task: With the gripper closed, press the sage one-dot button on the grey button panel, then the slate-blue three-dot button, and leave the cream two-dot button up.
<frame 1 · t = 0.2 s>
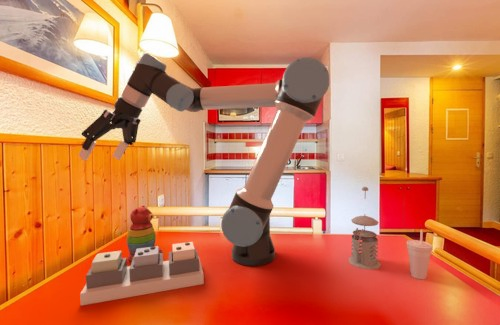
hand: (100, 158, 83), 35 cm above the table, tool tilted 35°, fingers open, 13 cm apart
smoothie: (418, 276, 74), on the table
button two dot: (183, 252, 75), point 7 cm above the table, slide at 0.0 cm
button one dot: (107, 262, 69), point 7 cm above the table, slide at 0.0 cm
stacking bear: (143, 257, 91), on the table
button three dot: (147, 257, 72), point 7 cm above the table, slide at 0.0 cm
french press: (363, 263, 83), on the table
button panel: (148, 282, 73), on the table
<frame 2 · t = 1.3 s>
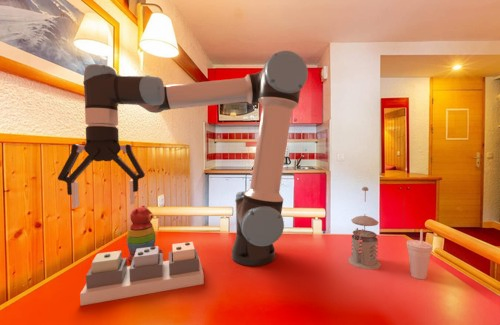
hand: (105, 205, 69), 23 cm above the table, tool pointing down, fingers open, 13 cm apart
nothing on the table moved.
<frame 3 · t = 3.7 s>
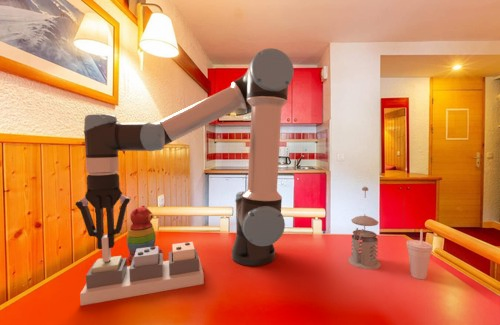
hand: (106, 259, 69), 8 cm above the table, tool pointing down, fingers closed
button one dot: (107, 268, 69), point 6 cm above the table, slide at 1.5 cm
everything else where it was.
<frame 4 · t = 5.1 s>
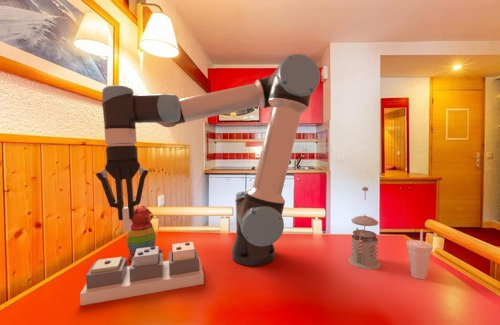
hand: (127, 230, 70), 16 cm above the table, tool pointing down, fingers closed
nothing on the table moved.
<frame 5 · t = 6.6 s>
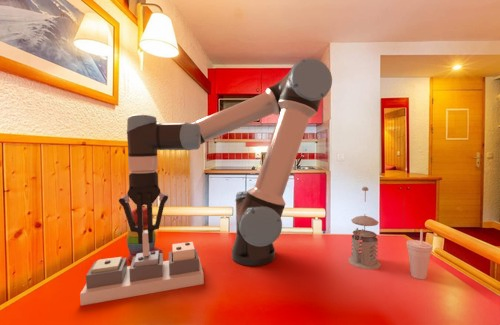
hand: (146, 254, 72), 8 cm above the table, tool pointing down, fingers closed
button three dot: (147, 262, 73), point 6 cm above the table, slide at 1.5 cm, touching gripper
everything else where it was.
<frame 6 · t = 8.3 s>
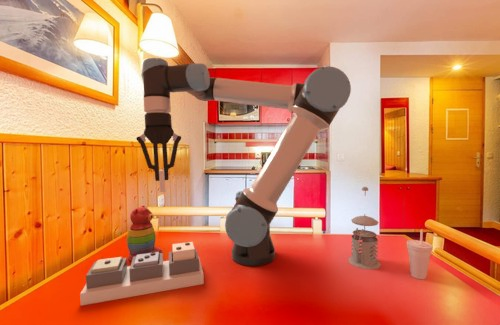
hand: (162, 191, 78), 25 cm above the table, tool pointing down, fingers closed
button three dot: (147, 263, 73), point 6 cm above the table, slide at 1.8 cm
everything else where it was.
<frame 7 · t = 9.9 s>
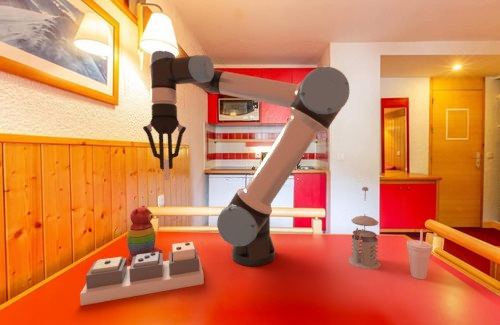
hand: (166, 179, 81), 28 cm above the table, tool pointing down, fingers closed
nothing on the table moved.
at the end: button one dot slide at 1.8 cm; button three dot slide at 1.8 cm; button two dot slide at 0.0 cm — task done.
